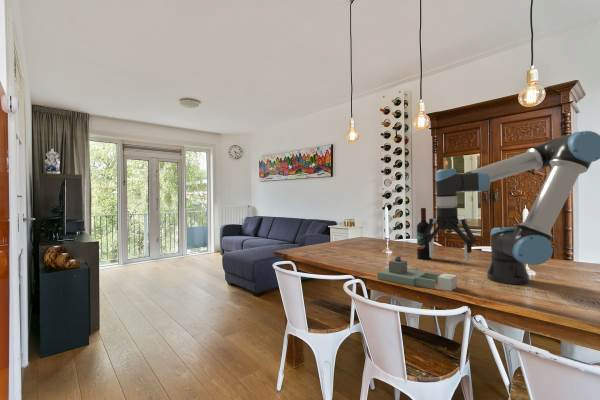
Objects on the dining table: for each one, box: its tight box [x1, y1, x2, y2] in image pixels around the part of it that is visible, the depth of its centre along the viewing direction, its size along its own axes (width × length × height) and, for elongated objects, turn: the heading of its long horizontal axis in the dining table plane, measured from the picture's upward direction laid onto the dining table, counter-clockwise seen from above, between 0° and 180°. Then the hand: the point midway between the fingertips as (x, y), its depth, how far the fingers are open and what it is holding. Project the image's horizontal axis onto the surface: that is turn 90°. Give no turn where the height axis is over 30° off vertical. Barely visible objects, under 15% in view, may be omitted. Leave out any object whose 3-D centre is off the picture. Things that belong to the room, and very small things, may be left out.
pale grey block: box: [437, 272, 458, 292], centre depth 123 cm, size 5×7×5 cm
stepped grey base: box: [377, 255, 442, 290], centre depth 134 cm, size 25×14×10 cm, turn 45°
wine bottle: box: [416, 207, 432, 261], centre depth 177 cm, size 8×8×30 cm
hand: (448, 258), depth 122 cm, fingers open, 13 cm apart
